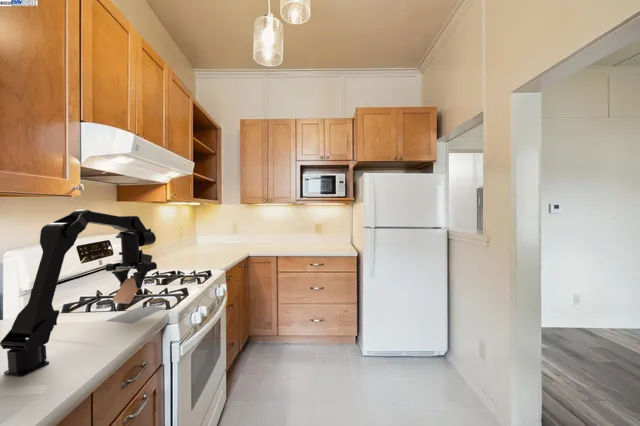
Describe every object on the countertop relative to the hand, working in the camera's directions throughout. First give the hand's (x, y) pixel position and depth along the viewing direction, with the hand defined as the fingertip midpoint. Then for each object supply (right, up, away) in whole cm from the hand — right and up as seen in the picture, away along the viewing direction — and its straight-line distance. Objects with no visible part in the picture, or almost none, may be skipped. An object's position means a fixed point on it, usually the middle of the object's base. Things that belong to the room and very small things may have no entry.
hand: (132, 288), depth 112 cm
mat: (+1, -11, +2) cm, 11 cm away
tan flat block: (-1, -4, -5) cm, 6 cm away
